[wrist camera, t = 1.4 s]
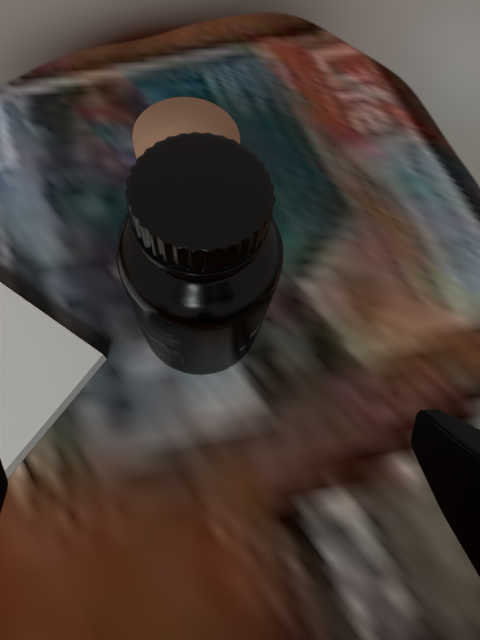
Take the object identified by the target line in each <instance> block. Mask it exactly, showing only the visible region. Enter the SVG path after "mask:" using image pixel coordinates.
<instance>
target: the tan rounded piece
mask: <svg viewBox="0 0 480 640" xmlns="http://www.w3.org/2000/svg"><path fill="white" fill-rule="evenodd" d="M192 132H198V133H208V132H209V133H211V134H214V135H223V136H224V137H226V138H228V139H233V140H235V141H237V142H238V143H239V144H240V134H239V130H238V127H237V125H236V123H235V122H234V120H233V119H232V117H231V116H230V115H229V114H228V113H227V112H226V111H224V110H223V109H222V108H220V107H219V106H217V105H215V104H213V103H211V102H209V101H206V100H203V99H199V98H193V97H175V98H169V99H165V100H162V101H159V102H157V103H155V104H153V105H152V106H150V107H149V108H147V109H146V110H145V111H144V112H143V113H142V114H141V115H140V116H139V118H138V119H137V121H136V123H135V125H134V128H133V134H132V138H133V145H134V150H135V154H136V159H137V158H138V157H139V156H141V155H143V154H144V152H145V150H146V149H147V148H150V147H152V146H153V145H154V144H155V143H156V142H158V141H162V140H165V139H166V138H167V137H169V136H177V135H178V134H181V133H187V134H189V133H192Z"/></svg>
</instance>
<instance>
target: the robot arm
mask: <svg viewBox="0 0 480 640" xmlns="http://www.w3.org/2000/svg"><path fill="white" fill-rule="evenodd" d="M411 445H412V448H413V451H414V453H415V455H416V457H417V460H418V462H419V464H420V466H421V468H422V470H423V473H424V475H425V477H426V479H427V481H428V483H429V486H430V488H431V490H432V492H433V494H434V496H435V499H436V501H437V503H438V505H439V507H440V509H441V511H442V513H443V514H444V516H445V518H446V520H447V522H448V523H449V525H450V527H451V529H452V530H453V532H454V534H455V535H456V537H457V539H458V541H459V542H460V544H461V546H462V547H463V549H464V551H465V553H466V554H467V556H468V558H469V559H470V561H471V563H472V565H473V566H474V568H475V570H476V571H477V573H478V575H479V576H480V430H479V429H477V428H475V427H473V426H471V425H469V424H467V423H465V422H463V421H461V420H459V419H457V418H455V417H453V416H451V415H449V414H447V413H445V412H443V411H441V410H438V409H427V410H420V411H419V412H418V413H417V415H416V419H415V423H414V428H413V432H412V436H411ZM7 487H8V481H7V476H6V473H5V470H4V467H3V465H2V462H1V459H0V513H1V509H2V506H3V502H4V499H5V496H6V492H7Z"/></svg>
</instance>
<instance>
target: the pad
mask: <svg viewBox="0 0 480 640" xmlns="http://www.w3.org/2000/svg"><path fill="white" fill-rule="evenodd" d="M106 360H107V359H106V357H105V356H104V355H103V354H102V353H100V352H99V351H97V350H96V349H94V348H93V347H92V346H90V345H89V344H87V343H86V342H84V341H83V340H82V339H80V338H79V337H77V336H76V335H75V334H73V333H72V332H70V331H69V330H67V329H66V328H65V327H63V326H62V325H60V324H59V323H58V322H56V321H55V320H53V319H52V318H50V317H49V316H48V315H46V314H45V313H43V312H42V311H41V310H39V309H38V308H36V307H35V306H33V305H32V304H31V303H29V302H28V301H26V300H25V299H23V298H22V297H21V296H19V295H18V294H16V293H15V292H14V291H12V290H11V289H9V288H8V287H6V286H5V285H4V284H2V283H1V282H0V459H1V462H2V465H3V467H4V470H5V473H6V476H7V479H8V477H9V476H10V475H11V474H12V473H13V471H14V470H15V469H16V468H17V467H18V465H19V464H20V463H21V462H22V461H23V459H24V458H25V457H26V456H27V455H28V453H29V452H30V451H31V450H32V449H33V447H34V446H35V445H36V444H37V443H38V441H39V440H40V439H41V438H42V437H43V435H44V434H45V433H46V432H47V431H48V429H49V428H50V427H51V426H52V425H53V423H54V422H55V421H56V420H57V419H58V417H59V416H60V415H61V414H62V413H63V411H64V410H65V409H66V408H67V407H68V405H69V404H70V403H71V402H72V400H73V399H74V398H75V397H76V396H77V394H78V393H79V392H80V391H81V390H82V388H83V387H84V386H85V385H86V384H87V382H88V381H89V380H90V379H91V378H92V376H93V375H94V374H95V373H96V372H97V370H98V369H99V368H100V367H101V366H102V364H103V363H104V362H105V361H106Z"/></svg>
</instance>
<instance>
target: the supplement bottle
mask: <svg viewBox="0 0 480 640" xmlns="http://www.w3.org/2000/svg"><path fill="white" fill-rule="evenodd" d="M273 190H274V185H273V183H272V182H271V180H270V173H269V172H268V171H267V170H266V169H265V165H264V163H263V162H262V161H260V160H259V159H258V157H257V155H256V154H255V153H253V152H251V151H249V149H248V148H247V147H246V146H244V145H241V144H239V143H238V142H237V141H235V140H233V139H228V138H226V137H224V136H223V135H214V134H211V133H209V132H208V133H198V132H192V133H189V134H187V133H181V134H178V135H177V136H169V137H167V138H166V139H165V140H162V141H158V142H156V143H155V144H154V145H153V146H152V147H150V148H147V149H146V150H145V152H144V154H143V155H141V156H139V157H138V158H137V161H136V164H135V165H133V166H132V167H131V174H130V175H129V177H128V178H127V189H126V193H125V195H126V199H127V203H128V211H129V213H128V214H127V216H126V217H125V219H124V221H123V223H122V226H121V228H120V231H119V234H118V238H117V244H116V261H117V266H118V271H119V274H120V277H121V281H122V283H123V286H124V288H125V290H126V293H127V295H128V298H129V300H130V303H131V305H132V307H133V310H134V312H135V315H136V317H137V320H138V322H139V324H140V327H141V329H142V332H143V334H144V336H145V338H146V340H147V343H148V344H149V346H150V348H151V349H152V351H153V352H154V353H155V354H156V355H157V357H158V358H159V359H161V360H162V361H163V362H164V363H165V364H167V365H168V366H170V367H172V368H174V369H176V370H178V371H181V372H185V373H189V374H197V375H204V374H212V373H216V372H220V371H223V370H225V369H227V368H229V367H231V366H233V365H234V364H236V363H237V362H238V361H239V360H241V359H242V358H243V357H244V356H245V354H246V353H247V352H248V351H249V349H250V348H251V346H252V344H253V343H254V340H255V338H256V336H257V334H258V332H259V329H260V327H261V324H262V322H263V319H264V317H265V314H266V312H267V309H268V307H269V304H270V302H271V299H272V297H273V294H274V292H275V289H276V287H277V284H278V281H279V278H280V275H281V271H282V266H283V244H282V239H281V235H280V232H279V230H278V227H277V225H276V223H275V221H274V219H273V217H272V212H273V205H274V201H275V196H274V193H273Z"/></svg>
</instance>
